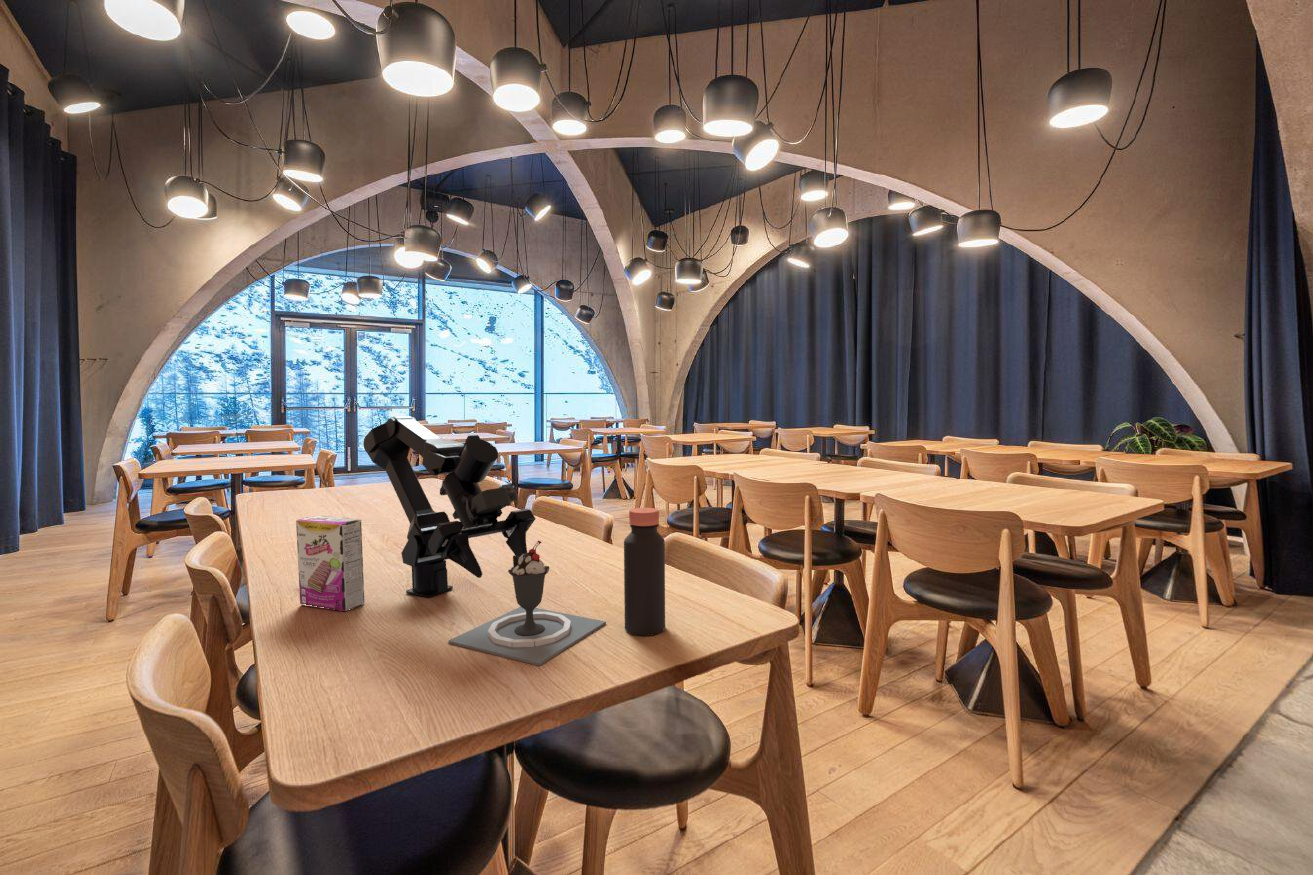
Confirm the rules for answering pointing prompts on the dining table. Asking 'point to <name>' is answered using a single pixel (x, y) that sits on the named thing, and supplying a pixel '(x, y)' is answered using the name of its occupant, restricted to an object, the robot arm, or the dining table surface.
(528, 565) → the sundae
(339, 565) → the candy bar box
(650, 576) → the bottle
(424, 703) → the dining table surface
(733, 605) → the dining table surface
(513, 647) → the ring mat
